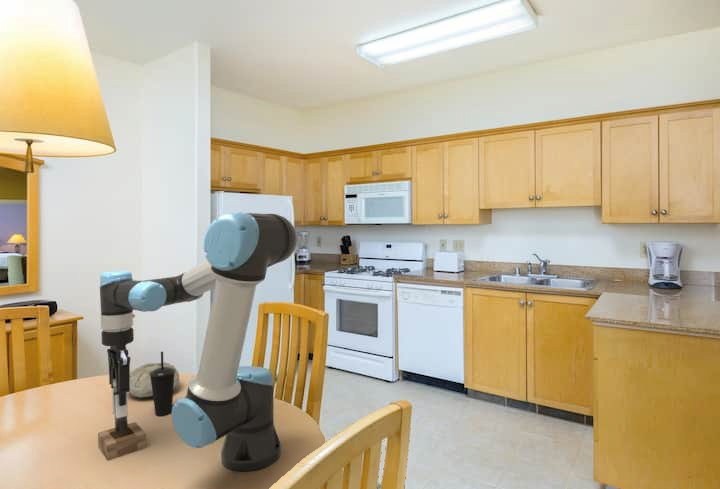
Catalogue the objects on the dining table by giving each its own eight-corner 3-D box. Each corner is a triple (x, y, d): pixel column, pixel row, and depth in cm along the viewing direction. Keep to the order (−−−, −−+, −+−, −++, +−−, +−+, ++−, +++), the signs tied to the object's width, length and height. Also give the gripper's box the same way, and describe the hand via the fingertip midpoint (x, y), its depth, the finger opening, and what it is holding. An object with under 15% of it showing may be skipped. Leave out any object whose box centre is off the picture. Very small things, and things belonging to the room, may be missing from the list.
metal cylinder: (129, 429, 119) (126, 378, 118) (116, 432, 117) (113, 381, 116) (126, 425, 121) (124, 375, 120) (114, 428, 119) (111, 378, 118)
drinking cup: (145, 415, 139) (143, 353, 138) (165, 406, 146) (164, 347, 145) (161, 420, 136) (159, 356, 135) (181, 410, 142) (180, 350, 141)
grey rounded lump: (175, 400, 151) (174, 372, 150) (118, 405, 147) (117, 376, 146) (183, 382, 168) (182, 356, 168) (133, 386, 164) (132, 360, 164)
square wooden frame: (146, 447, 119) (145, 433, 119) (107, 460, 113) (106, 445, 112) (135, 435, 126) (135, 422, 126) (98, 447, 119) (98, 432, 119)
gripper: (141, 331, 114) (144, 419, 115) (124, 321, 126) (127, 401, 127) (109, 336, 109) (112, 428, 110) (94, 325, 121) (97, 409, 122)
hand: (120, 414), depth 119 cm, fingers closed on metal cylinder, 3 cm apart
